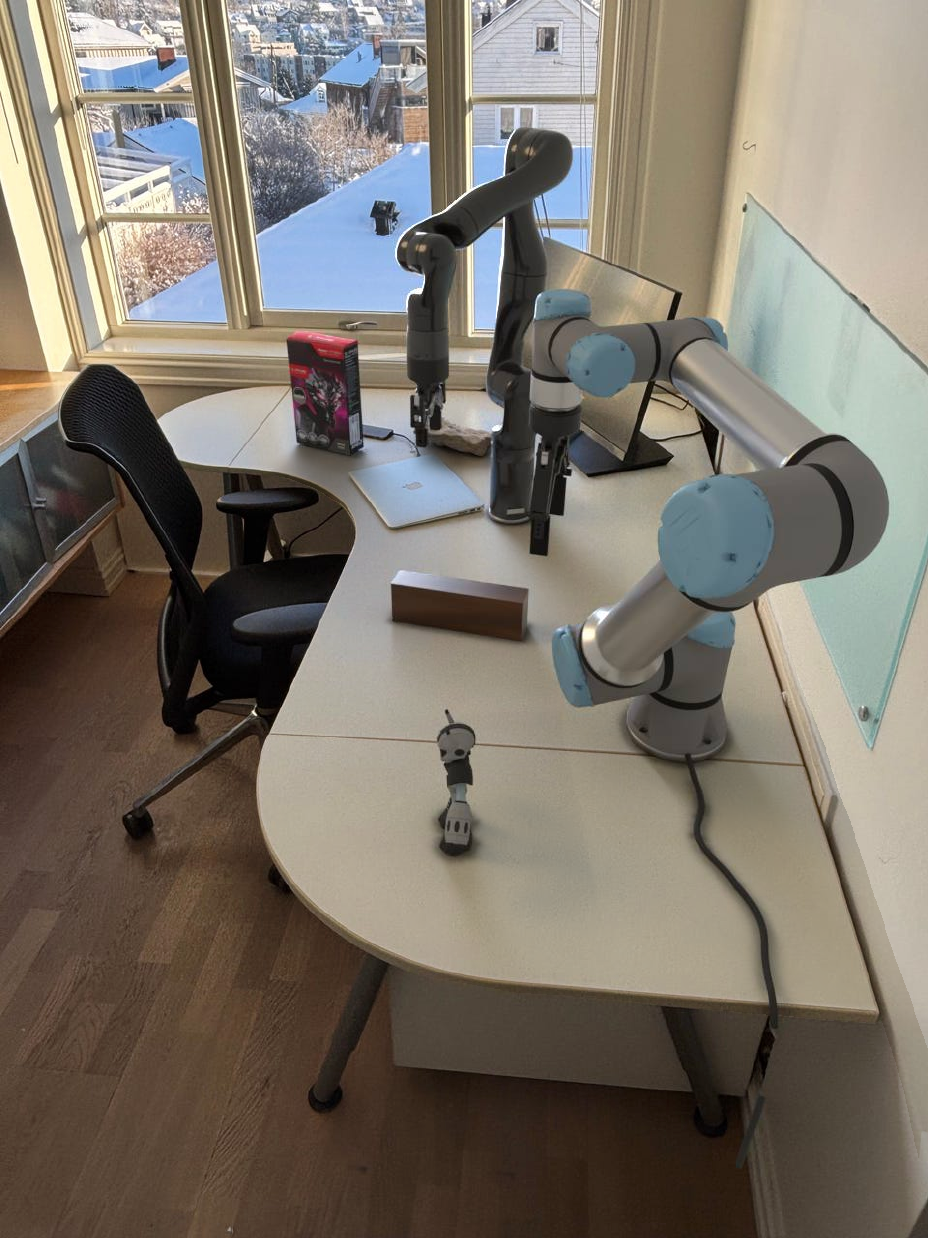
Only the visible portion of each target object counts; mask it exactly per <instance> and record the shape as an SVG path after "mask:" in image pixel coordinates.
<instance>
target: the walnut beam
mask: <svg viewBox="0 0 928 1238" xmlns="http://www.w3.org/2000/svg"><path fill="white" fill-rule="evenodd" d="M529 590H530V589H529V588H527V587H522V586H521V587H520V586H514V585H513V586H512V585H506V584H500V583H492V582H486V581H485V582H484V581H480V580H472V579H465V578H458V577H452V576H445V575H438V574H432V573H425V572H417V571H410V570H405V569H404V570H403V569H402V570H401V569H399V570H398V572H397V573H396V575H395V576H394V578H393V579H392V581H391V582H390V596H391V598H390V599H391V618H392V619H391V620H392V621H393V622H398V623H404V624H411V625H416V626H417V625H418V626H423V627H429V628H435V629H442V630H449V631H455V632H461V633H467V634H473V635H480V636H487V637H492V638H493V637H494V638H500V639H505V640H511V641H518V642H522V640H523V637H524V634H525V632H526V629H527V626H528V613H529V612H528V611H529V609H528V608H529V595H530V594H529V593H530V591H529Z"/></svg>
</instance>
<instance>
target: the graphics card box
mask: <svg viewBox="0 0 928 1238" xmlns="http://www.w3.org/2000/svg"><path fill="white" fill-rule="evenodd" d="M285 341H286V348H287V349H286V350H287V359H288V369H289V378H290V389H291V398H292V408H293V420H294V428H295V441H296V444H300V445H304V446H309V447H314V448H317V449H321V450H326V451H330V452H334V453H340V454H343V455H348V456H351V455H353V454H354V453H356V452H358V451H359V450H361V449H363V448H364V445H365V443H364V428H363V427H364V426H363V424H364V423H363V411H362V409H363V408H362V396H361V377H360V361H359V341H358V339H350V338H343V337H339V336H333V335H330V334H329V335H328V334H324V333H318V332H313V331H312V332H311V331H306V330H298V331H295V332H293V333H292V334H290V335H289V336H288V337H286V340H285Z"/></svg>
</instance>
